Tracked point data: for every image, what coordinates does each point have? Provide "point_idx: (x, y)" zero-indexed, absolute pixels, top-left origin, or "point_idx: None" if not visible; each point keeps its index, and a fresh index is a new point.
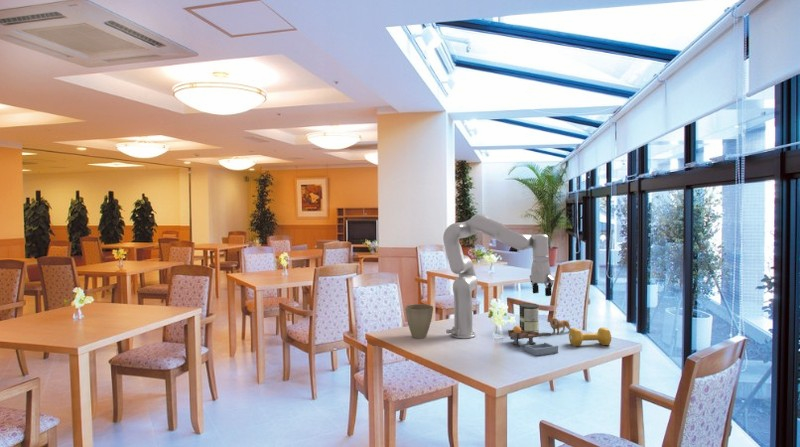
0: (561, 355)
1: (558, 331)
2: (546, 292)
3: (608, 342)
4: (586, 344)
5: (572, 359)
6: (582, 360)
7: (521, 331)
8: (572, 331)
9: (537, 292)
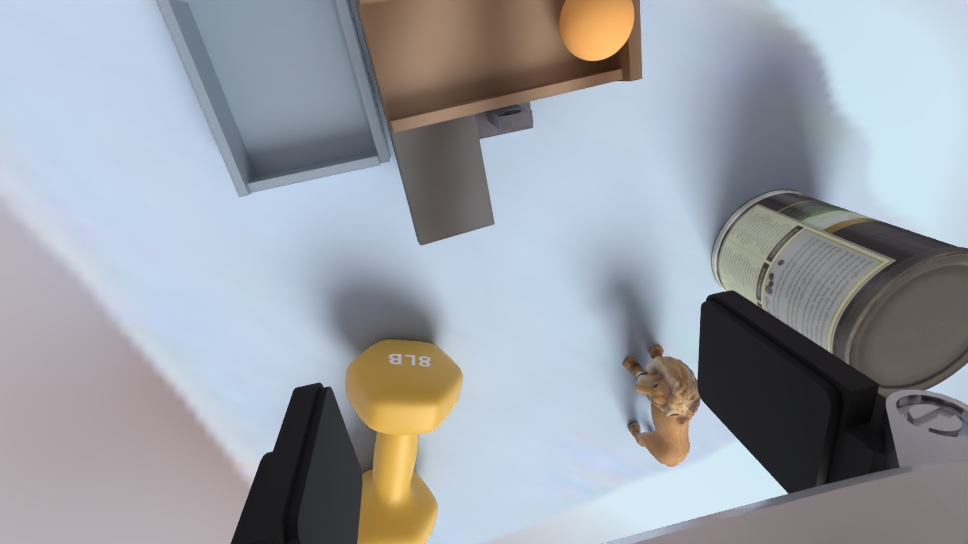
0: (194, 178)
1: (634, 374)
2: (280, 449)
3: None
4: None
5: (97, 203)
6: (77, 252)
7: (596, 74)
8: (392, 388)
9: (704, 378)
